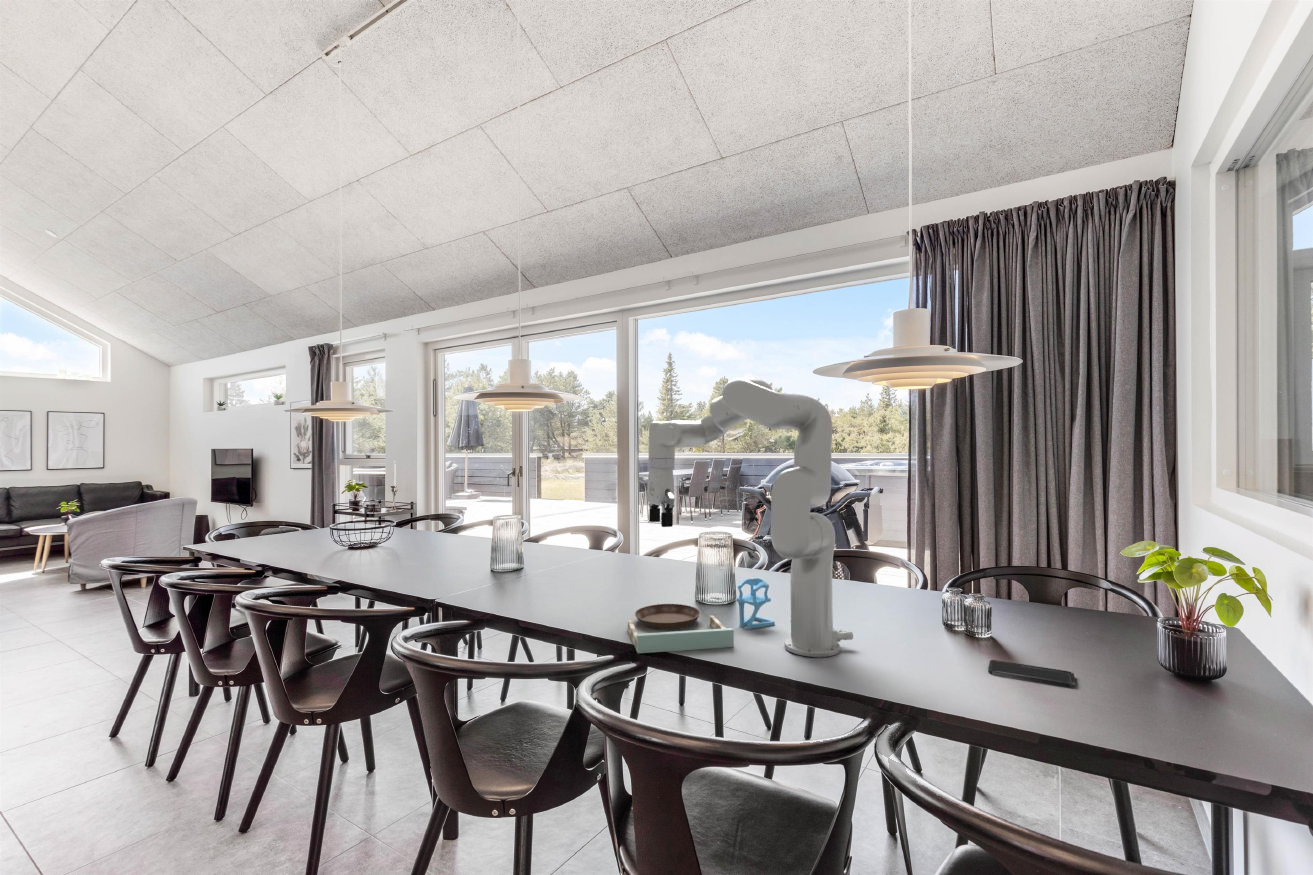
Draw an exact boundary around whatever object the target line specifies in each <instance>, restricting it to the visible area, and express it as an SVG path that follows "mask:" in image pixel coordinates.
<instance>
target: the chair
mask: <svg viewBox="0 0 1313 875" xmlns="http://www.w3.org/2000/svg"><path fill="white" fill-rule="evenodd" d="M745 585H748V586H750V594H747V595H745V596H744V593H743V590H742V588H743V587H744V586H745ZM754 586H755V587H754ZM762 588H764V589H765V590H764V592H763V596H761V595H758V594H757V592H758V591H759V590H761V589H762ZM769 588H770V584H769V583H767V582H766V580H764V579H761V578H749V579H745V580H743V581H741V582H740V583H739V584H738V585H737V589H738V592H739V597H736V599H735V602H737V603H738V610H739V627H740V628H743V627H746V630H752V629H758V628H763V627H764V628H765V627H770V626H774V625H775V624H776V623H775V621H774V620H772V619H767V618H762V617H761V616H760V617H759V616H757V614H758V612H759V610H760V608H762V607H763V605H765V604H766V603H770V602H771V601H772V600H771V597H769V596H768V590H769ZM745 604H748V605H751V606H754V609H753V611H752V614H751V616H748V617H747V618H746V619H745ZM754 621H758V622H756V623H754Z"/></svg>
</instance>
